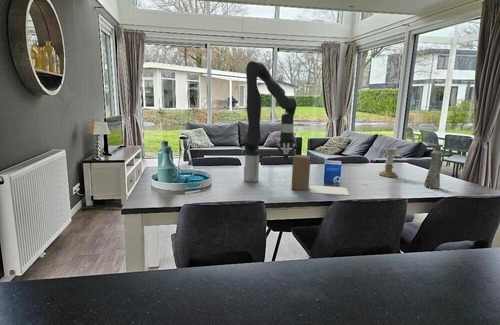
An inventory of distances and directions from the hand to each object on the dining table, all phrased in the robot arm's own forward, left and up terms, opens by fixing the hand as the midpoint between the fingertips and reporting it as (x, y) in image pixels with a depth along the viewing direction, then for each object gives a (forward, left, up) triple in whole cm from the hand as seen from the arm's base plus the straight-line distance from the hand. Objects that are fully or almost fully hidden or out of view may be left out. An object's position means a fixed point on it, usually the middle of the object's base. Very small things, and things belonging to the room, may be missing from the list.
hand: (285, 160), depth 195 cm
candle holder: (+72, +52, -17) cm, 91 cm away
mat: (+26, 0, -17) cm, 32 cm away
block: (+9, 0, -17) cm, 20 cm away
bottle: (+92, +24, -17) cm, 97 cm away
